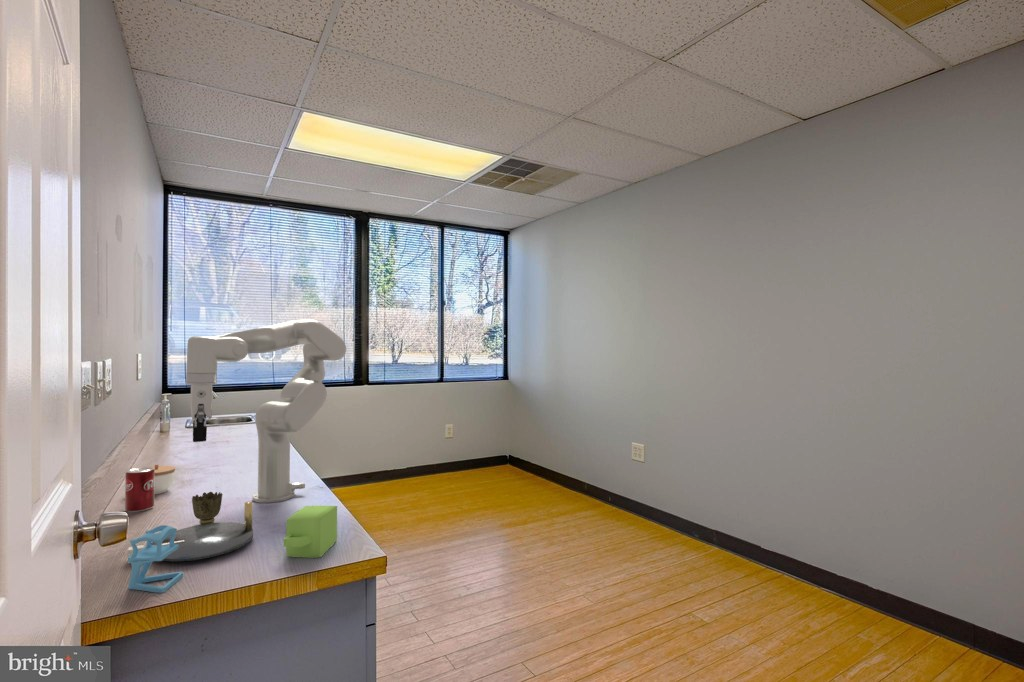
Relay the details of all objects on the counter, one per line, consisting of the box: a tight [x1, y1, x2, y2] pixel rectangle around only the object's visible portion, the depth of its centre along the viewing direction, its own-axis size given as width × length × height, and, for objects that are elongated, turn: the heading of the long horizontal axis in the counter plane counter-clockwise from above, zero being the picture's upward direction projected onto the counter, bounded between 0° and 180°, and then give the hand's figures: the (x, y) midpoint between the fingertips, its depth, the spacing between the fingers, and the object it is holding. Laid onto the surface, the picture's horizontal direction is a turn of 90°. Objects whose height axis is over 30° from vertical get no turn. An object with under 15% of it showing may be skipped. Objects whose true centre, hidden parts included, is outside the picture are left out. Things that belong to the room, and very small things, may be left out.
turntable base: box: [127, 544, 145, 564], centre depth 124 cm, size 22×14×3 cm, turn 125°
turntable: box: [152, 501, 254, 562], centre depth 126 cm, size 22×22×8 cm
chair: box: [127, 524, 184, 594], centre depth 107 cm, size 8×8×12 cm
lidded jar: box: [150, 463, 176, 495], centre depth 173 cm, size 11×11×9 cm
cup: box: [191, 491, 223, 525], centre depth 143 cm, size 8×7×8 cm
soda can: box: [124, 466, 155, 513], centre depth 156 cm, size 7×7×12 cm
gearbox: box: [282, 505, 338, 559], centre depth 127 cm, size 18×10×10 cm, turn 178°
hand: (199, 438), depth 146 cm, fingers open, 9 cm apart
